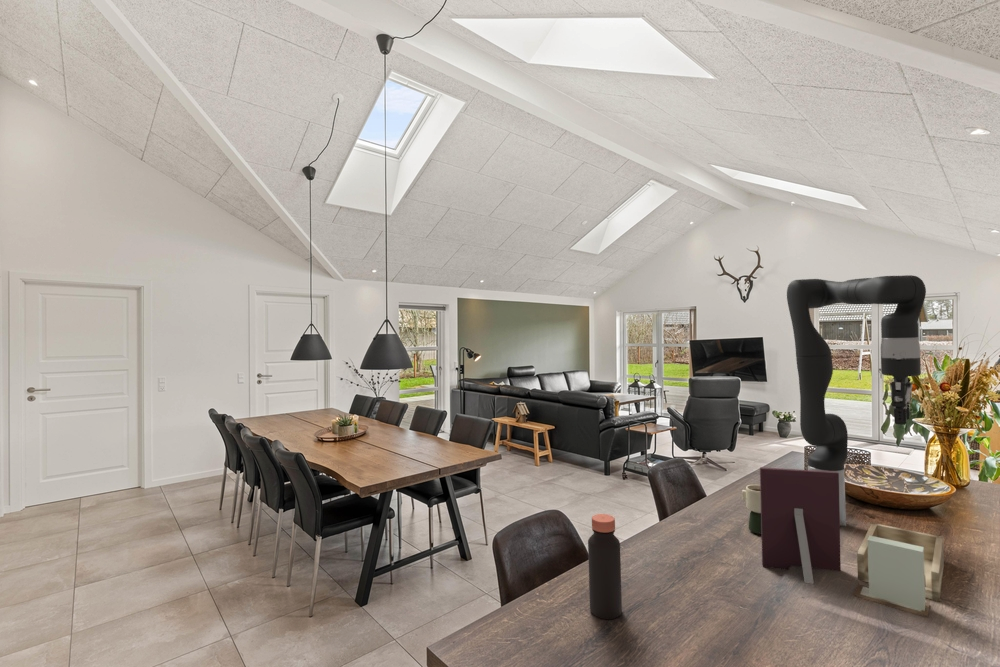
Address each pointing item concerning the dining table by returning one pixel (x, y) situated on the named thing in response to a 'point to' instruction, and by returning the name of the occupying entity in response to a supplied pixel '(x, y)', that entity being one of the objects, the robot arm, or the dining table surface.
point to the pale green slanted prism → (896, 572)
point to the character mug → (753, 506)
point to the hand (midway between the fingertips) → (902, 421)
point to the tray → (929, 542)
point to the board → (863, 593)
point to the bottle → (604, 568)
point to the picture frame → (800, 519)
